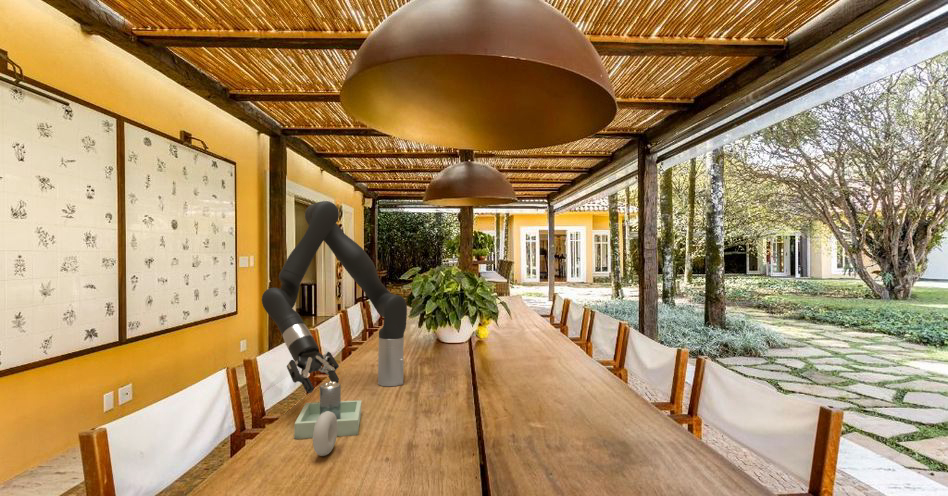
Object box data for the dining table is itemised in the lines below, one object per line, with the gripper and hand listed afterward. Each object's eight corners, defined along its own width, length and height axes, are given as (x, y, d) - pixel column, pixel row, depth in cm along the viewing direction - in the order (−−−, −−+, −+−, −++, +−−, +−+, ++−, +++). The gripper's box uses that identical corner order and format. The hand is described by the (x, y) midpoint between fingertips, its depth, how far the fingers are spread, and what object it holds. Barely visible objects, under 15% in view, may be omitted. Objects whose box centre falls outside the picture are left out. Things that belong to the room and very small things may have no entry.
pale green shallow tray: (361, 413, 132) (361, 400, 132) (357, 435, 116) (358, 419, 116) (305, 416, 129) (305, 402, 129) (294, 439, 113) (294, 423, 113)
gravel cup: (341, 416, 126) (341, 378, 126) (339, 424, 120) (339, 384, 120) (321, 418, 125) (321, 379, 125) (318, 425, 119) (318, 385, 119)
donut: (325, 444, 110) (326, 405, 110) (339, 445, 110) (340, 405, 110) (309, 463, 100) (310, 419, 100) (324, 464, 100) (325, 420, 100)
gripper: (284, 338, 123) (308, 386, 117) (325, 331, 135) (350, 374, 129) (272, 354, 126) (296, 402, 120) (314, 346, 138) (338, 388, 132)
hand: (324, 387), depth 124 cm, fingers open, 8 cm apart
